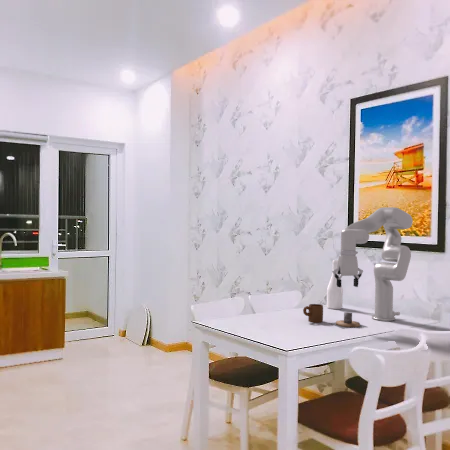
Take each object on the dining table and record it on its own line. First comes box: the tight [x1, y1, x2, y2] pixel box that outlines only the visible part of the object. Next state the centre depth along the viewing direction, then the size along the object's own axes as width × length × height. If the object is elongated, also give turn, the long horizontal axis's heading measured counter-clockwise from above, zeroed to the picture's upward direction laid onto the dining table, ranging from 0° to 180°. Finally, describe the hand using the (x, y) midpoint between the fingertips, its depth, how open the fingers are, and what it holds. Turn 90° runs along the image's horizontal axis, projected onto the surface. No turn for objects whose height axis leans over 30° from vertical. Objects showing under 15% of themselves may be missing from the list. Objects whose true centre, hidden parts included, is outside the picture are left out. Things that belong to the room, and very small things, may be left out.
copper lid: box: [335, 311, 361, 327], centre depth 256 cm, size 12×12×6 cm
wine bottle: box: [326, 259, 344, 310], centre depth 311 cm, size 10×10×30 cm
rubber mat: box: [328, 322, 368, 330], centre depth 256 cm, size 15×14×1 cm
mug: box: [302, 303, 324, 324], centre depth 263 cm, size 12×8×9 cm, turn 119°
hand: (347, 286), depth 256 cm, fingers open, 9 cm apart
